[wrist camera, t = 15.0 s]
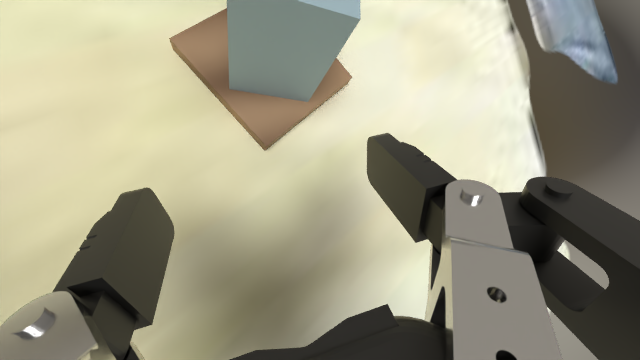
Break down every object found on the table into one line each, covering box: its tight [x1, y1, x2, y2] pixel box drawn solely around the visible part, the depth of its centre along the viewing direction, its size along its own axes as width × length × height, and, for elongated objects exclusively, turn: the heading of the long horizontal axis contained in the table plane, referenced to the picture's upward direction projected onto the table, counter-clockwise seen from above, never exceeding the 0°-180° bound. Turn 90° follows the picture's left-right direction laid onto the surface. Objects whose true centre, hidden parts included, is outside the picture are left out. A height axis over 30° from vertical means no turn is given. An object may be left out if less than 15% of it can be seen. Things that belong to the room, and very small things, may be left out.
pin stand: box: [169, 8, 352, 150], centre depth 17 cm, size 10×10×8 cm
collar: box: [227, 0, 360, 102], centre depth 16 cm, size 6×6×9 cm
